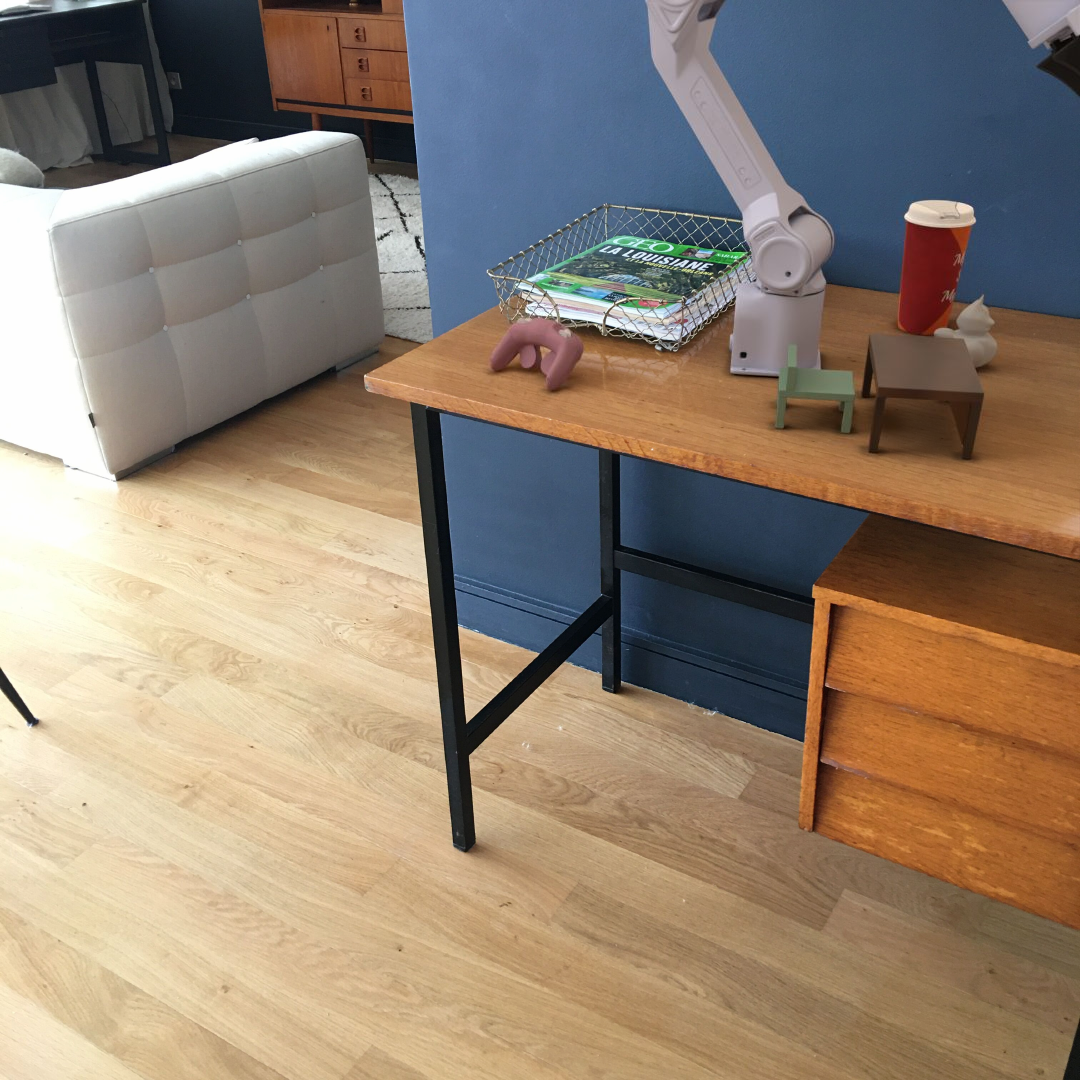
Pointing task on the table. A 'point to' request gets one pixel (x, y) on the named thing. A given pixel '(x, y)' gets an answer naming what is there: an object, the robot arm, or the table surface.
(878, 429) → the desk
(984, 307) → the white sculpted figure
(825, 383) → the green seat
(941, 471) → the table surface
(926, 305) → the paper cup
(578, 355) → the video game controller
